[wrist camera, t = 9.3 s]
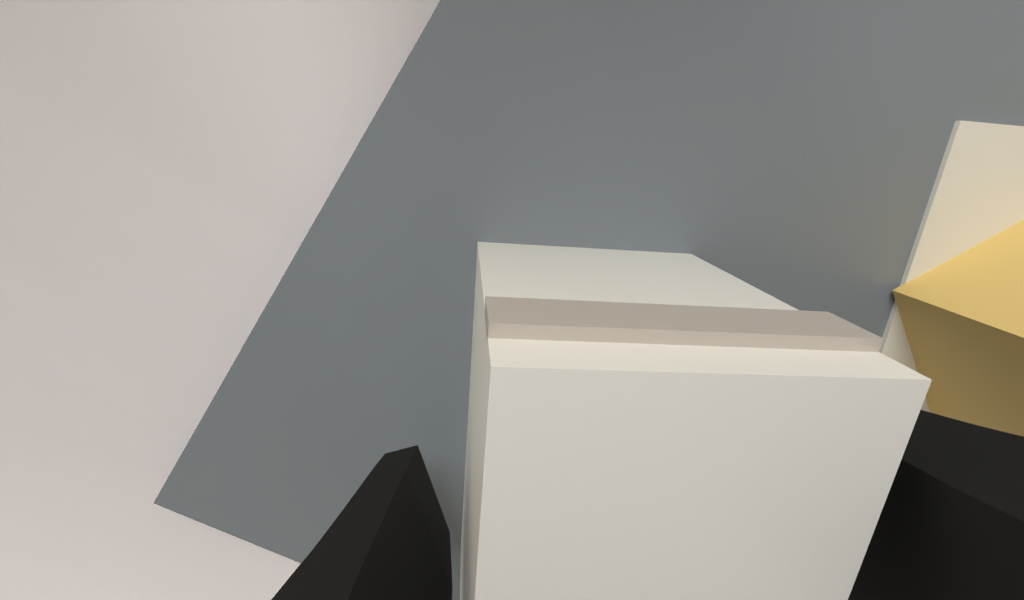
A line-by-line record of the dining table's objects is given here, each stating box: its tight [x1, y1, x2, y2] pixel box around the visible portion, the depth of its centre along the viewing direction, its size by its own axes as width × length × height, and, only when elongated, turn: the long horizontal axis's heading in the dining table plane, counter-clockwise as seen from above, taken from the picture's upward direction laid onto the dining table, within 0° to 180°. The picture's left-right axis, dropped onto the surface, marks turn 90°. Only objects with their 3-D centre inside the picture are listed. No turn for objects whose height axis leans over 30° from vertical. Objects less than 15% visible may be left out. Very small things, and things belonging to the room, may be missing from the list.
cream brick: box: [460, 242, 932, 600], centre depth 8 cm, size 4×7×5 cm, turn 176°
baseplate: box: [154, 0, 1024, 600], centre depth 10 cm, size 24×20×1 cm
